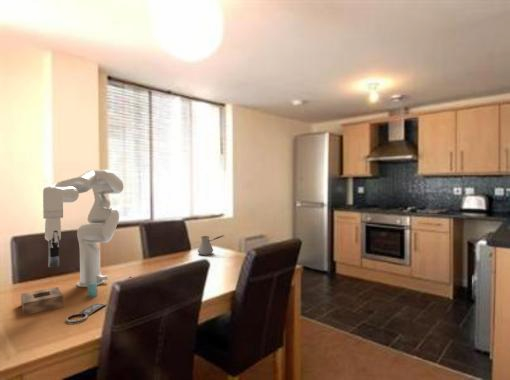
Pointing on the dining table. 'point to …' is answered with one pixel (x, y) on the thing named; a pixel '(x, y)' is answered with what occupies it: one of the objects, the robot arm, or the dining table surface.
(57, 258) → the tall pin
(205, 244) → the coffee pot
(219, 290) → the dining table surface
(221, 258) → the dining table surface
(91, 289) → the short pin
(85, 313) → the grey ring with handle
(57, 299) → the hole block
